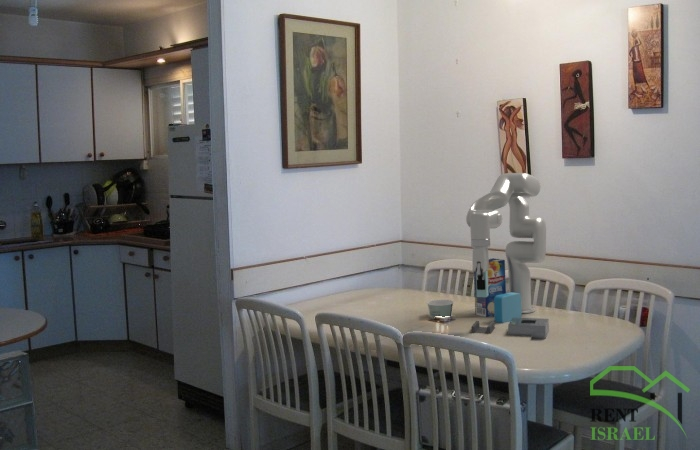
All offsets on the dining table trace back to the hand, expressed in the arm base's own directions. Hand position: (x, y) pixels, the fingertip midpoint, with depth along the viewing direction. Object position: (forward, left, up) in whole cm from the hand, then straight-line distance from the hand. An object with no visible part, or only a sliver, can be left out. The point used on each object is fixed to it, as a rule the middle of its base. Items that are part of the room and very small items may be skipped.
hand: (482, 288), depth 292 cm
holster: (0, 0, -18) cm, 18 cm away
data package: (-19, +7, -18) cm, 27 cm away
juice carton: (-34, -3, -18) cm, 39 cm away
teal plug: (0, 0, -3) cm, 3 cm away
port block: (0, +18, -18) cm, 25 cm away
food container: (-26, -24, -18) cm, 40 cm away
